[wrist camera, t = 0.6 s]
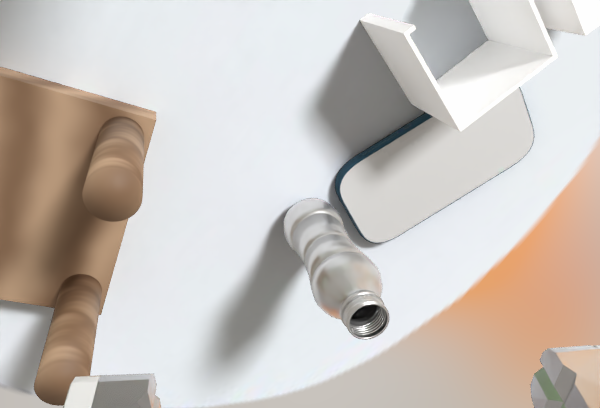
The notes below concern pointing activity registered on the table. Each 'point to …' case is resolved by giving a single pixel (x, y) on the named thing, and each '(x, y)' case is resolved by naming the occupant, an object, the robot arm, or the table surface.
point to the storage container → (482, 55)
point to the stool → (65, 210)
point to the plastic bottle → (336, 268)
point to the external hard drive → (430, 168)
